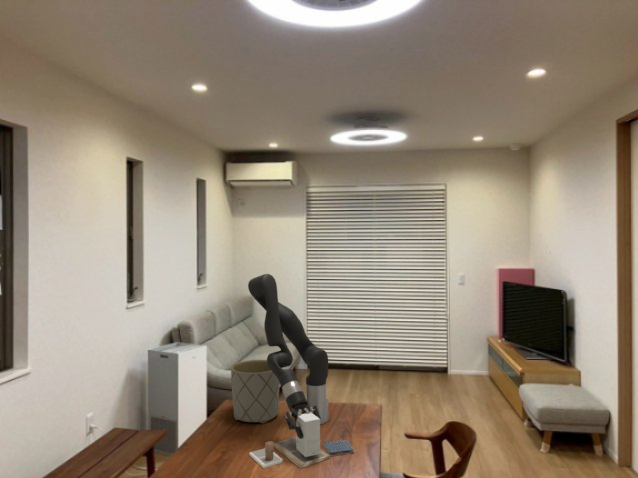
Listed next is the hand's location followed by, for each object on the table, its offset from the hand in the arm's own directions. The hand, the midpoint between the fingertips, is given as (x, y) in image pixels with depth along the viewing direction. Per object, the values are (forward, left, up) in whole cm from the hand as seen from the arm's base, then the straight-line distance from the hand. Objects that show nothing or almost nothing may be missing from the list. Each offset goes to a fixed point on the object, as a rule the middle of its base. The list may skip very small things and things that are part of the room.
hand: (310, 435), depth 172 cm
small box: (0, -1, -7) cm, 7 cm away
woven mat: (-14, -1, -10) cm, 17 cm away
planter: (-1, -50, -9) cm, 51 cm away
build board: (0, -7, -9) cm, 12 cm away
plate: (+13, -10, -9) cm, 19 cm away
